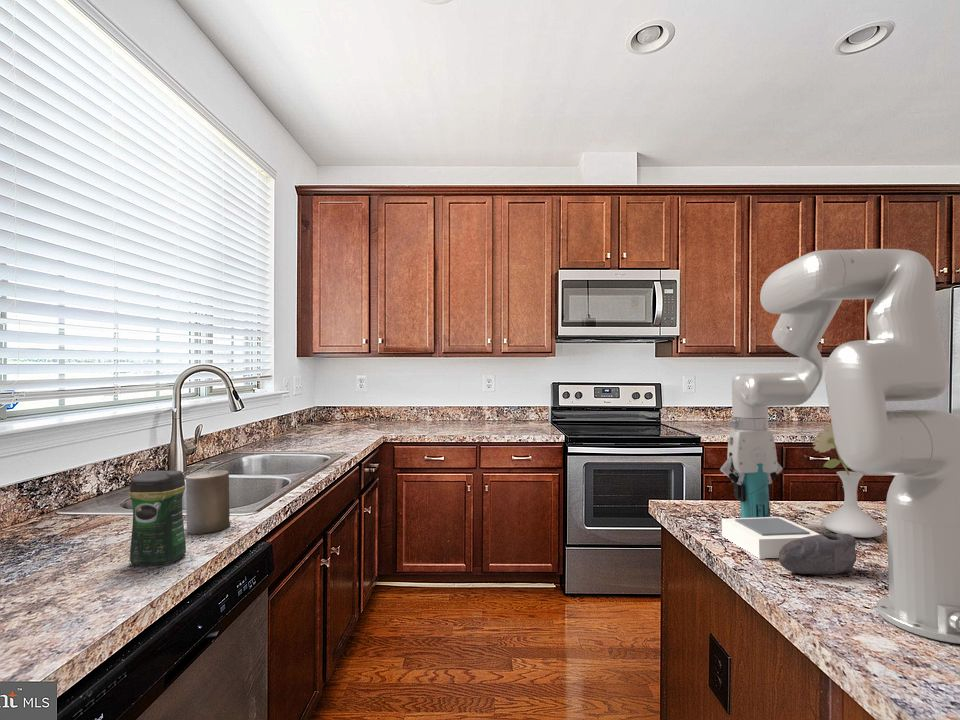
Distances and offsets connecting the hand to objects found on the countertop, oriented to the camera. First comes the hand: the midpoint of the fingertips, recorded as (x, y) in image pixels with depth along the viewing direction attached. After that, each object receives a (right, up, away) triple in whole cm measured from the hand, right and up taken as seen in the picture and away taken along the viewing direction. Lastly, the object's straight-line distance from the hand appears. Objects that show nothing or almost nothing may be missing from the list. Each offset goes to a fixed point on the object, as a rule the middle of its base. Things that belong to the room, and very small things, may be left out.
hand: (752, 499), depth 121 cm
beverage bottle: (+1, -7, 0) cm, 7 cm away
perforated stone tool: (-3, -6, -27) cm, 28 cm away
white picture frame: (-3, -6, -13) cm, 15 cm away
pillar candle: (-134, -9, +5) cm, 135 cm away
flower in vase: (+18, -6, -6) cm, 20 cm away
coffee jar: (-133, -8, -16) cm, 134 cm away
